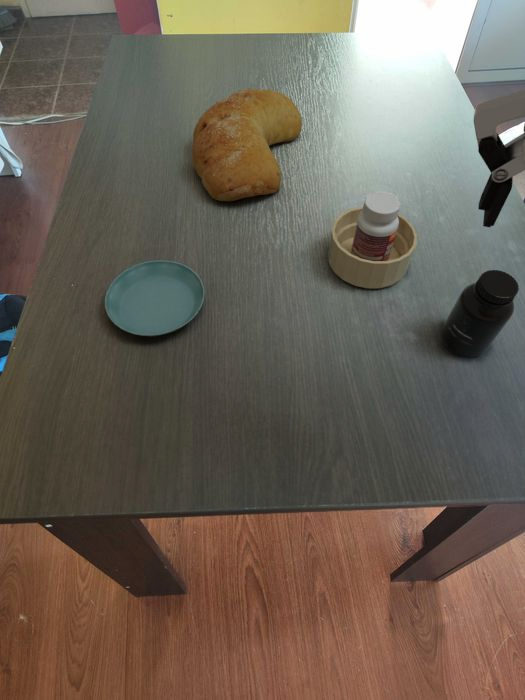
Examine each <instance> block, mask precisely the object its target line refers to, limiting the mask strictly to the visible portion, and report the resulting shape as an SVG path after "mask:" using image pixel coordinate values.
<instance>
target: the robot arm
mask: <svg viewBox="0 0 525 700" xmlns="http://www.w3.org/2000/svg"><path fill="white" fill-rule="evenodd" d="M524 117H525V89H524V90H520V91H517V92H514V93H510V94H507V95H504V96H501V97H498V98H495V99H492V100H487V101H485V102H481V103H479V104H478V105H476V106H475V109H474V113H473V125H474V132H475V137H476V141H477V147H478V149H477V152H478V154H479V156H480V157H481V159H482V161H483V162H484V164H485V165H486V168H487V169H488V171H490V174H489V177H488V179H487V181H486V184H485V186H484V188H483V190H482V193H481V195H480V198H479V202H478V210H479V211H483V223H482V226H483V227H484V228H491V227H494V226H495V224H496V221H497V220H498V218H499V215H500V213H501V212H502V210H503V208H504V205H505V204H506V201H507V199H508V197H509V195H510V194H511V191H512V188H513V181H514V180H513V177H515V176H517V175H518V174H520V173H522V172H524V171H525V123H524V124H523V133H522V134H520V135H518V136H516V137H515V138H513V139H512V140H510V141H508V142H506V143H505V144H504V142H503V140H502V139H501V137H500V135H499V134H498V132H497V127H498V126H499V125H501V124H503V123H506V122H509V121H510V122H511V121H514V120H517V119H521V118H524Z"/></svg>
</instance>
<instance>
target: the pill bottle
mask: <svg viewBox="0 0 525 700" xmlns="http://www.w3.org/2000/svg"><path fill="white" fill-rule="evenodd" d="M362 206H363V210H362V211H361V212H360V214H359V216H358V219H357V224H356V229H355V234H354V239H353V244H352V249H351V254H352V255H355V256H357V257H359V258H361V259H366V260H371V261H388V259H389V256H390V253H391V250H392V246H393V243H394V239H395V236H396V233H397V229H398V225H399V219H398V213H399V212H400V208H401V201H400V199H399V198H398V196H397V195H395V194H393V193H391V192H388V191H384V190H383V191H382V190H376V191H373V192H370V193H368V194H367V195H366V196H365V199H364V202H363V205H362ZM399 214H400V213H399Z"/></svg>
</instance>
